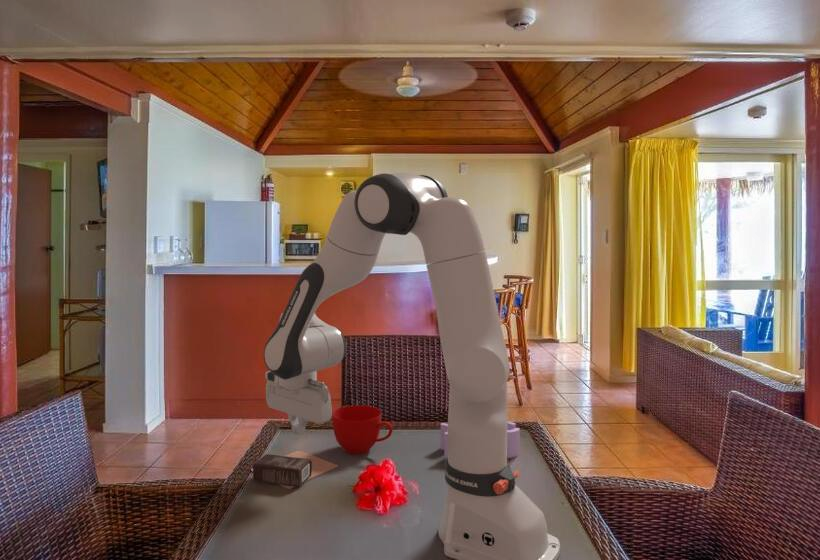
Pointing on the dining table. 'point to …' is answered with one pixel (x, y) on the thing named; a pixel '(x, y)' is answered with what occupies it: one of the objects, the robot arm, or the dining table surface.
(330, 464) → the mat
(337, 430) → the ceramic cup
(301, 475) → the box
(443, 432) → the clip
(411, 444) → the dining table surface
